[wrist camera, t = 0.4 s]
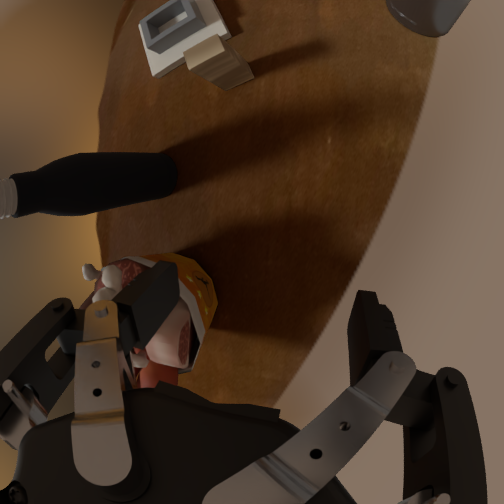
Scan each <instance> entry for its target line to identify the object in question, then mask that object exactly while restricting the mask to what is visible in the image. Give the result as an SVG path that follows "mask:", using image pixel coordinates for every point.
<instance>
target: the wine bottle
mask: <svg viewBox="0 0 504 504" xmlns="http://www.w3.org/2000/svg"><path fill="white" fill-rule="evenodd" d="M176 181H177V169H176V166H175V163H174V162H173V160H172V159H171V158H170V157H169V156H167V155H165V154H162V153H135V152H98V153H78V154H74V155H70V156H67V157H63V158H61V159H58V160H55V161H53V162H51V163H49V164H47V165H45V166H43V167H42V168H40V169H38V170H36V171H30V172H24V173H17V174H13V175H11V176H10V177H9V179H8V178H4V180H1V179H0V219H4V217H5V216H6V217H10V216H12V217H14V218H18V217H21V216H25V215H29V214H33V213H37V212H40V213H45V214H51V215H57V216H81V215H87V214H91V213H95V212H99V211H104V210H108V209H112V208H117V207H121V206H126V205H131V204H135V203H140V202H145V201H150V200H155V199H160V198H164V197H166V196H168V195H169V194H170V193H171V192H172V191H173V189H174V187H175V185H176Z"/></svg>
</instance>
